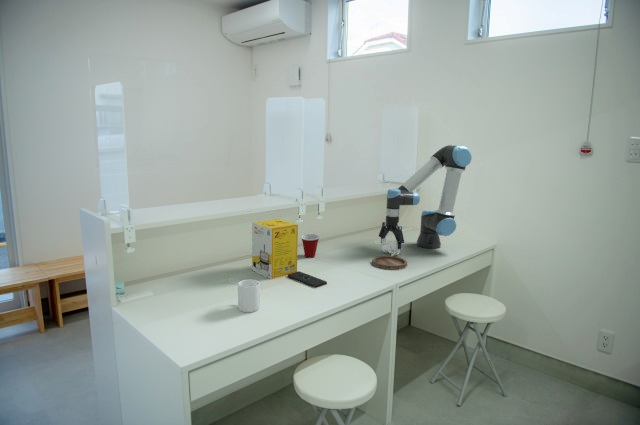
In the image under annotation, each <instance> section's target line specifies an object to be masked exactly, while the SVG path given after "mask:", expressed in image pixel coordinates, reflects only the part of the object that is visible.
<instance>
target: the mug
mask: <svg viewBox="0 0 640 425" xmlns="http://www.w3.org/2000/svg"><path fill="white" fill-rule="evenodd" d="M237 306H238V307H237V308H238V310H239V311H240V312H243V313H255V312H257V311H259V309H260V306H261V282H260V281H259V280H257V279H243V280H241V281H239V282H237Z"/></svg>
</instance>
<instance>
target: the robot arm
mask: <svg viewBox="0 0 640 425" xmlns="http://www.w3.org/2000/svg"><path fill="white" fill-rule="evenodd" d="M472 156H473V155H472V152H471V150H470V149H469V148H468V147H466V146H464V145H452V144H448V145H445V146H443V147H441V148H440V149H438V151H437V150H436V152H434V153H433V154H432V155H431V156H430V157H429V158H430V159H429V160H428V161H427V162H426V163H424V164H423V166H421V167H420V168H419V169H418V170H417V171H415V173H413V174H412V176H410V177H409V178H408V179H407V180H406V181H405V182H404V183H403V184H401V185H400V186H399V187H398V188H389V189H388V190H387V192H386V210H385V212H386V213H385V221H383V222H382V225H381V227H380V231H379V234H378V237H379V238H380V244H381V246H380V248H381V249H380V250H382V247H383V246H384V245H387V244H386V243H387V242H386V240H387V238H386V237H387V235H388V234H389V232H392V234H393V235H394V237H395V241H397V243H396V254H395V256H396V255H397V254H398V255H401V248H402V244H404V243H405V239H404V233H403V227H402V225H398V223H399V222H400V221H399V220H400V217H399V216H400V206H417V205H419V203H420V201H421V200H420V199H421V198H420V194H419V193H418V192H415V190H416V189H418V188H419V187H420V186H421V185H422V184H423V183H424V182H426V180H428V179H429V178H430V177H431V176H432V175H433V174H434V173H435V172H437V171H438V170H439V169H442V168H443V167H444V168H445V169H446V173H445V178H444V182H443V186H442V192H441V196H440V200H439V205H438V208H437V209H435V210H431V209H430V210H429V209H427V210H422V212H421V215H420V228H419V229H420V232H419V235H418V237H417V240H416V246H417V247H420V248H424V249H440V248H441V246H442V243H441V238H440V236H443V237H448V236H451V235H452V234H454V232H455V231H456V230H457V222H456V220H455V216H456V214H455V213H454V209H455V208H454V207H455V205H456V200H457V195H458V192H459V191H458V190H459V186H460V182H461V178H462V173H463V172H465V171H466V168H467V166H469V165H470V164H471V162H472Z"/></svg>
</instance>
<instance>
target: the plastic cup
mask: <svg viewBox="0 0 640 425" xmlns="http://www.w3.org/2000/svg"><path fill="white" fill-rule="evenodd" d="M300 238H301V241H302V242H301V243H302V247H303V254H304V257H305V256H306V257H305V258H308V257H309V259H311V258H315V257H316V253H317V248H318V244H319V239H320V235H318V234H316V233H307V234H303V235H300ZM310 257H311V258H310Z"/></svg>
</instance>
